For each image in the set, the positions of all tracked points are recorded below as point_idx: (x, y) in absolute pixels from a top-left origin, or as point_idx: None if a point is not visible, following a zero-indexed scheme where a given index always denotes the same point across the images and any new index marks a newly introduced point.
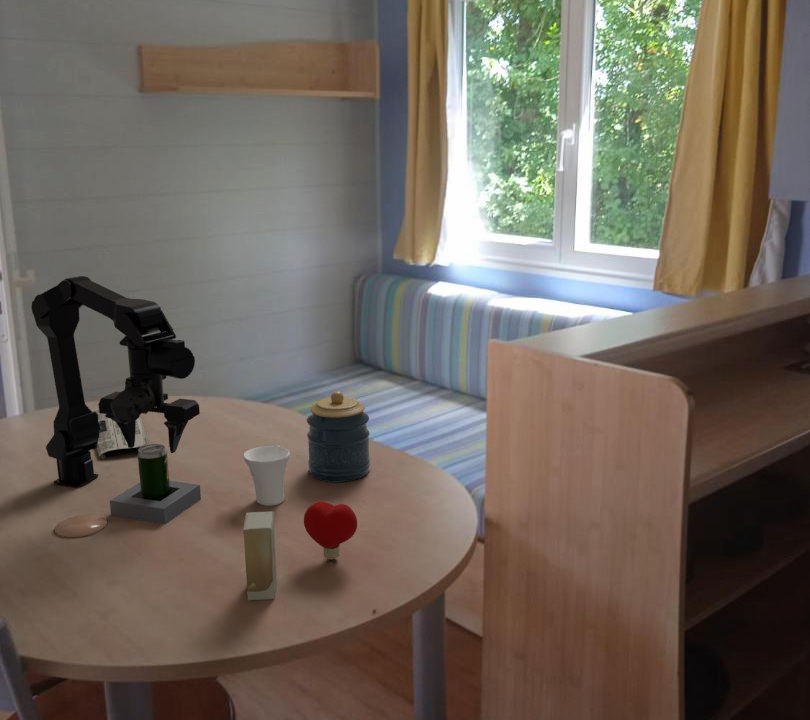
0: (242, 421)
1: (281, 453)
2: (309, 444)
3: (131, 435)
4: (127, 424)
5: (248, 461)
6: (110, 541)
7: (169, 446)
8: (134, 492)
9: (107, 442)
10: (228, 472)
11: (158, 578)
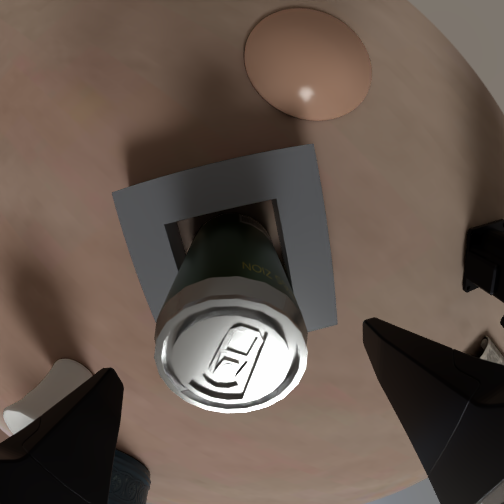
0: (356, 489)
1: None
2: (112, 491)
3: (393, 376)
4: (446, 420)
5: (27, 412)
6: (172, 45)
7: (92, 386)
8: (292, 229)
9: None
10: (243, 430)
11: (4, 50)
